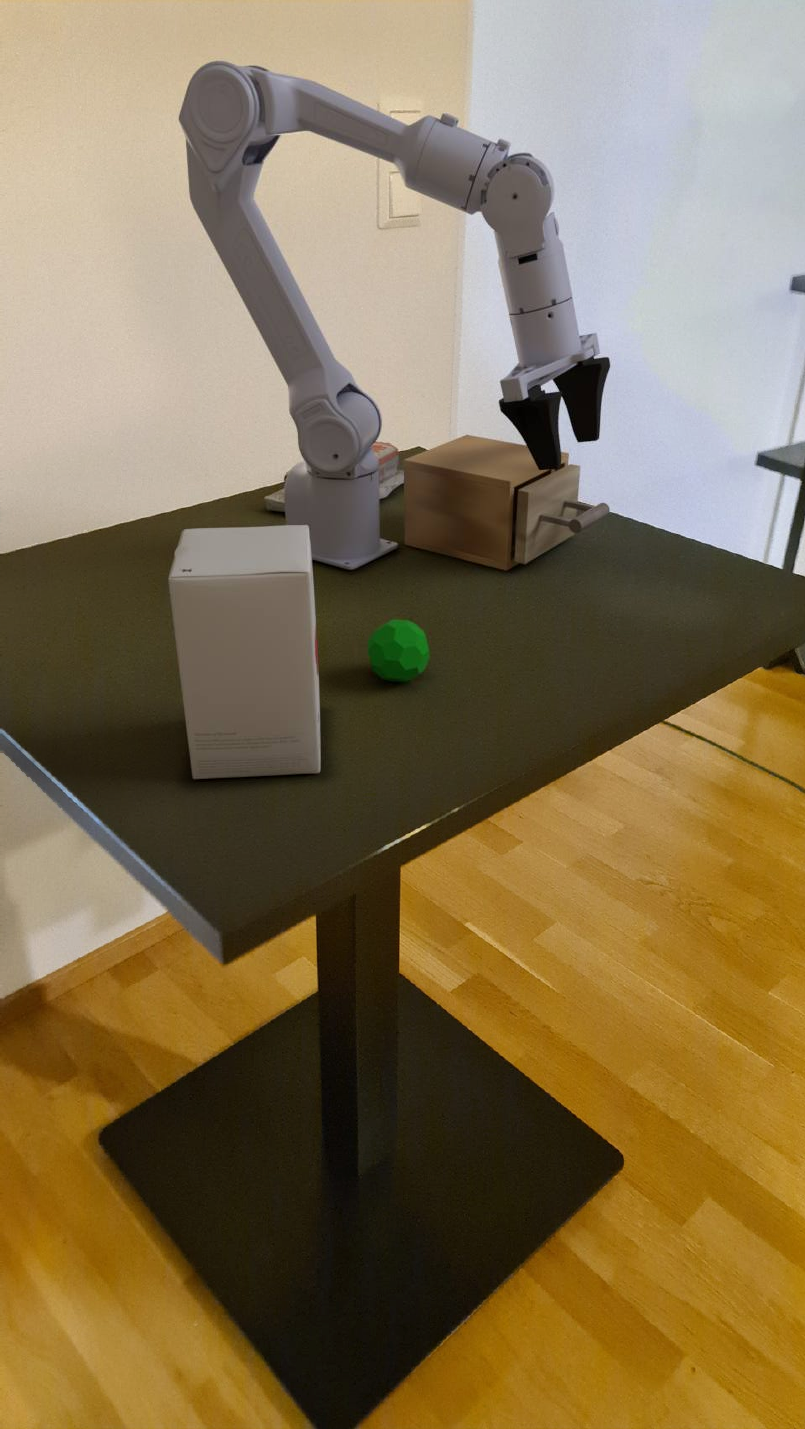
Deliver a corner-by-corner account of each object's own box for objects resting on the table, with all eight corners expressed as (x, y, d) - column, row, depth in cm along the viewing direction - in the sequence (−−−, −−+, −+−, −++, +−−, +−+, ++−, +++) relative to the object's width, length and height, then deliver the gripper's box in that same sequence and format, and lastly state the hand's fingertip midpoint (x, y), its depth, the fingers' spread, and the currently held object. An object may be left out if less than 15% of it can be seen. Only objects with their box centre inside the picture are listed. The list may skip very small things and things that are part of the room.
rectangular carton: (323, 776, 70) (312, 571, 62) (191, 783, 69) (163, 577, 62) (321, 710, 78) (311, 521, 70) (202, 715, 77) (179, 526, 70)
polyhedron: (365, 665, 84) (363, 612, 82) (424, 661, 85) (424, 608, 82) (371, 694, 80) (369, 639, 77) (433, 690, 80) (433, 635, 78)
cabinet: (563, 537, 109) (569, 453, 105) (506, 571, 101) (510, 481, 97) (464, 514, 116) (466, 434, 111) (404, 544, 108) (403, 459, 103)
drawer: (615, 543, 105) (622, 473, 102) (567, 575, 98) (572, 501, 94) (483, 513, 114) (485, 448, 110) (429, 540, 106) (429, 471, 103)
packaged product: (345, 432, 129) (414, 442, 124) (346, 470, 131) (414, 481, 127) (260, 470, 115) (335, 482, 111) (263, 511, 117) (337, 525, 113)
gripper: (538, 319, 83) (569, 479, 89) (617, 278, 93) (641, 425, 99) (468, 332, 88) (502, 483, 94) (550, 291, 97) (577, 431, 103)
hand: (569, 454), depth 97 cm, fingers open, 7 cm apart
